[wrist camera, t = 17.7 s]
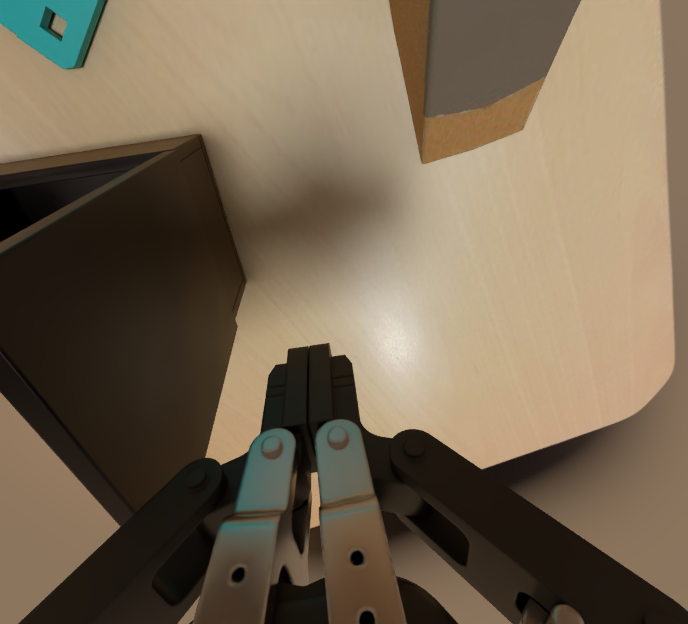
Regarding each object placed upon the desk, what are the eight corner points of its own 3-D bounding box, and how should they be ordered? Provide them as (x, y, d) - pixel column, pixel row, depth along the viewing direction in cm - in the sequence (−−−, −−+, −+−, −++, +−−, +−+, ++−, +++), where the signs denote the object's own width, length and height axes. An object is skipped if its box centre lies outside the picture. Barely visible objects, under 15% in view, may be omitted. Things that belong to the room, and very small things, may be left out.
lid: (158, 571, 14) (178, 567, 14) (-92, 291, 7) (-53, 285, 7) (227, 328, 28) (238, 326, 28) (162, 151, 21) (176, 149, 21)
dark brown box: (80, 307, 34) (34, 353, 28) (-7, 164, 27) (-91, 188, 22) (246, 282, 34) (234, 324, 28) (201, 133, 27) (171, 149, 22)
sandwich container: (418, 167, 30) (497, 235, 17) (368, -95, 22) (449, -335, 9) (525, 131, 29) (691, 174, 16) (516, -158, 21) (836, -521, 8)
